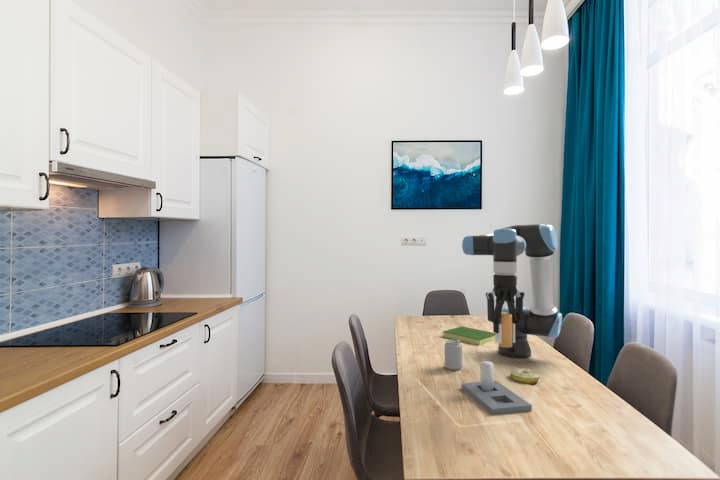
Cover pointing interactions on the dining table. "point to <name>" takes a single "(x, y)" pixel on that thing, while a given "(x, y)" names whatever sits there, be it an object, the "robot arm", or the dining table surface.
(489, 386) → the white rounded peg
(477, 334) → the hardcover book
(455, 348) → the can
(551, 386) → the dining table surface
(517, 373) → the decorated donut
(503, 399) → the housing
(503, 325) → the tan tapered peg
